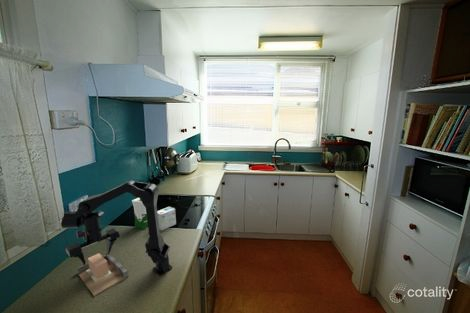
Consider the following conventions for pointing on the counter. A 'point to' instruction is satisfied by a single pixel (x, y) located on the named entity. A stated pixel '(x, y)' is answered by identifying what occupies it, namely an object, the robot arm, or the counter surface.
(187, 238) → the counter surface
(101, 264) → the terracotta block
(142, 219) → the milk carton
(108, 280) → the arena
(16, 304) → the counter surface
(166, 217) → the light bulb box
